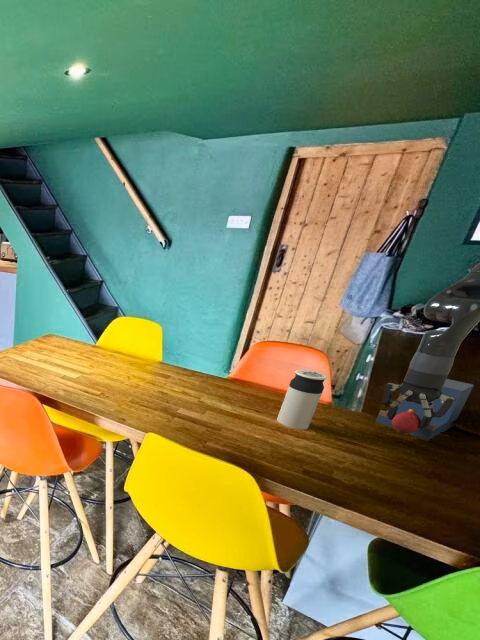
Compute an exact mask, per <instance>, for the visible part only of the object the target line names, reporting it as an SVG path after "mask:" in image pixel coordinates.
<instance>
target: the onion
mask: <svg viewBox="0 0 480 640" xmlns="http://www.w3.org/2000/svg"><path fill="white" fill-rule="evenodd" d="M420 423H421V419H420V417H419V416H418V415H417V414H416V413H415V412H414V411H413V410H412V409H409V410H408V411H406V412H401V413H399V414H397V415H395V416H394V417H393V419H392V425H393V427H394V428H395V429H396V430H397V432H396V433H398V434H400V435H404V434H406V433H412V432H415V431H417V430H418V429H419V425H420Z"/></svg>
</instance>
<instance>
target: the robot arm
mask: <svg viewBox="0 0 480 640" xmlns="http://www.w3.org/2000/svg"><path fill="white" fill-rule="evenodd" d="M423 315H424V317H425V318H426V319H428V320H430V321H434V322H441V323H445V324H450V326H448V328H447V329H445V330H442V329H441V330H439V329H435V330H434V329H433V330H427V331H426V332H424V334H423V336H422V338H421V340H420V343H419V344H418V347H417V349H416V352H415V353H414V355H413V356H412V359H411V360H410V362H409V365H408V369H407V371H406V374H405V376H404V379H403V381H402V382H401V383H400V384H397V383H394V382H388V383H387V384H385V385H384V391H383V395H382V396H383V397H382V404H385V405H388V406H389V408H388V409H387V410H388V413H387V417H389V418H388V419H391V420H392V419H393V417H394V416H395V415H396V413H397V410H398V408H399V407H398V405H399V404H401V403H402V402H403V401H405V400H406V401H408V402H414V403H417V404H420V405H421V404H422V408H423V409H424V413H425V416H423V418H422V421H421V423H420V425H419V428H424V427H427V426H428V425H429V424H430V422H431V420H432V418H433V417H438V418H440V417H442V416H443V415H445V413H446V412H447V411H448V409H449V408H450V407H451V405H452V404H453V403H454V401H455V400H456V398H455V397H448V396H445V395H442V392H441V390H442V387H443V385H444V383H445V381H446V379H448V376H449V374H450V372H451V369H452V367H453V365H454V361H455V357H456V355H457V352H458V350H459V348H460V346H461V344H462V342H463V341H464V339H465V338H466V337H467V336H468V335H469V333H471V331H472V330H473V329H474V328H475V326H477V325H478V324H479V322H480V261H479V262H478V263H476V265H475V266H474V267H473V268H472V269H471V270H470V271H469V272H468V273H467V274H466V275H465V276H464V277H463V278H461V279H460V280H458V281H456V282H454V283H453V284H451V285H449V286H448V287H446V288H445V289H442V290H441V291H439V292H438V293H436V294H435V295H434V296H432V297H431V298H429V300H428V301H427V302H426V303H425V305H424V308H423ZM397 389H398V391H399V394H400V393H401V395H402V396H401V397H399V396H398V397H399V398H396V399H395V400H393V395H394V392H395V391H396V390H397ZM438 398H440V399H441V403H442V404H443V405H442V406H441V408H440V409H439V410H438V412H434V409H433V401H434V400H436V399H438Z"/></svg>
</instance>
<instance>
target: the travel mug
mask: <svg viewBox="0 0 480 640" xmlns="http://www.w3.org/2000/svg"><path fill="white" fill-rule="evenodd" d="M294 373H295V376H294V377H293V378H292V379H291V380H290V382H289V385H288V387H287V390H286V392H285V395H284V398H283V401H282V404H281V407H280V410H279V412H278V416H277V418H276V422H278V423H279V424H281V425H282V426H284V427H288V428H291V429H295V430H307V429H309V427H310V424H311V422H312V419H313V416H314V415H315V411H316V410H317V407H318V404H319V401H320V399H321V397H322V395H323V392H324V389H325V385H324V382H325V380H327V379H328V376H327V375H325V374H323V373H321V372H317V371H314V370H308V369H297V370H295V371H294Z"/></svg>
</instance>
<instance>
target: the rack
mask: <svg viewBox="0 0 480 640" xmlns="http://www.w3.org/2000/svg"><path fill="white" fill-rule="evenodd" d="M474 386H475V384H473V383H467V382H463V381H459V380H453V379H450V378H446V381H445V383H444V385H443V387H442V390H441V392H442V395H445V396H448V397H455V398H456V400H455V401H454V403H453V404H452V405H451V407H450V408H449V409H448V411H447V412H446V413H445V415H443V416H442V417H440V418H438V417H433V418H432V420H431V422H430V424H429V425H428V426H427V427H424V428H419V429H418V430H417V431H415V432H412V433H409V434H411V435H415V436H419V437H423V438H426V439H430V438H431V437H433V436H434V435H436V434H437V433H440V432H443V433H444V432H446V431H448V430H450V429H451V428H453V427H454V426H455V424H456V422H454V421H456V420H458V418H459V416H460V415H461V413H462V410H463V408H464V406H465V404H466V402H467V400H468V399H469V397H470V394H471V393H472V390H473V388H474ZM401 396H402V395H401V393H400V392H399V396H398V398H399V397H401ZM398 398H397V399H398ZM442 405H443V404H442V403H441V399H440V398H438V399H436V400H434V401H433V409H434V412H438V410H439V409H440V408H441V406H442ZM398 407H399V408H398V410H397V413H396V415H397V414H399V413H401V412H406V411H408V410H409V409H412V410H413V411H414V412H415V413H416V414H417V415H418V416H419V417H420V419H421V421H422V418H423V416H425V413H424V409H423V408H422V404H421V405H420V404H417V403H414V402H408V401H406V400H405V401H403V402H402V403H401V404H399V405H398ZM388 410H389V409H387V410H383V409H380V410H379V412H378V415H377V416H376V419H375V422H378V423H381V424H383V425H387V426H390V427H393V425H392V420H391V419H388V418H389V417H387V413H388ZM393 428H394V427H393Z"/></svg>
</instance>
